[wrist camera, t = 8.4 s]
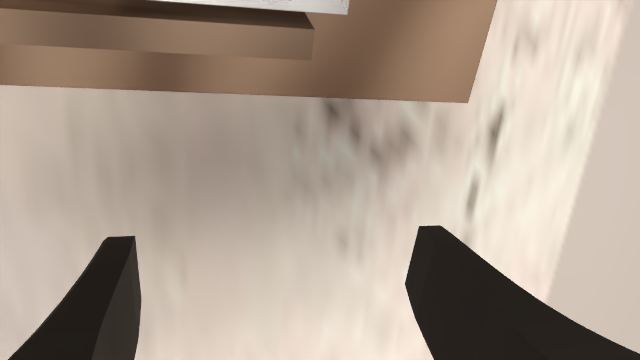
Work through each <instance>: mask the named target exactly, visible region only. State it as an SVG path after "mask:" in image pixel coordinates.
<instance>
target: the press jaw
mask: <svg viewBox="0 0 640 360" xmlns="http://www.w3.org/2000/svg"><path fill="white" fill-rule="evenodd" d="M157 1H170V2H183V3H197V4H210V5H223V6H237V7H250V8H263V9H277V10H290V11H303V12H317V13H330V14H343V15H347V13H348V6H349V0H157Z"/></svg>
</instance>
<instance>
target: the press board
mask: <svg viewBox="0 0 640 360" xmlns="http://www.w3.org/2000/svg"><path fill="white" fill-rule="evenodd" d="M496 3H497V0H349V6H348V13H347V15H343V14H330V13H317V12H303V11H290V10H277V9H263V8H250V7H237V6H223V5H210V4H197V3H183V2H170V1H157V0H0V85H19V86H45V87H70V88H96V89H122V90H147V91H173V92H199V93H224V94H250V95H276V96H301V97H327V98H352V99H378V100H404V101H429V102H455V103H468V101H469V97H470V94H471V90H472V87H473V83H474V80H475V76H476V73H477V69H478V66H479V62H480V59H481V56H482V52H483V49H484V45H485V42H486V38H487V35H488V31H489V28H490V24H491V21H492V17H493V14H494V10H495V7H496Z"/></svg>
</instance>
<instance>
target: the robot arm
mask: <svg viewBox="0 0 640 360" xmlns="http://www.w3.org/2000/svg"><path fill="white" fill-rule="evenodd" d="M405 286H406V289H407V293H408V296H409V300H410V303H411V307H412V310H413V313H414V316H415V319H416V321H417V323H418V326H419V328H420V330H421V332H422V334H423V337H424V339H425V341H426V343H427V346H428V348H429V350H430V352H431V354H432V356H433V358H434V360H640V354H639V353H637V352H634V351H632V350H630V349H627V348H625V347H623V346H621V345H619V344H617V343H615V342H613V341H611V340H609V339H607V338H604V337H603V336H601V335H599V334H597V333H595V332H593V331H591V330H589V329H587V328H585V327H584V326H582V325H580V324H578V323H576V322H574V321H573V320H571V319H569V318H567V317H566V316H564V315H563V314H561V313H559V312H557V311H556V310H554V309H553V308H551V307H549V306H548V305H546V304H545V303H543V302H541V301H540V300H538V299H537V298H535V297H534V296H532V295H531V294H530V293H528V292H527V291H525V290H524V289H522V288H521V287H520V286H518V285H517V284H515V283H514V282H513V281H511V280H510V279H509V278H507V277H506V276H504V275H503V274H502V273H501V272H499V271H498V270H497V269H495V268H494V267H493V266H491V265H490V264H489V263H488V262H486V261H485V260H484V259H483V258H481V257H480V256H479V255H478V254H476V253H475V252H474V251H473V250H471V249H470V248H469V247H468V246H466V245H465V244H464V243H463V242H461V241H460V240H459V239H458V238H456V237H455V236H454V235H453V234H451V233H450V232H449V231H447V230H446V229H445V228H443V227H442V226H419V229H418V233H417V237H416V241H415V245H414V249H413V253H412V257H411V261H410V265H409V269H408V273H407V277H406V282H405ZM140 311H141V291H140V281H139V271H138V261H137V251H136V242H135V236H123V237H107V238H106V239H105V240H104V241H103V242H102V244H101V246H100V247H99V249H98V251H97V252H96V254H95V255H94V257H93V258H92V260H91V261H90V263H89V264H88V266H87V267H86V269H85V270H84V271H83V273H82V274H81V276H80V277H79V278H78V280H77V281H76V282H75V284H74V285H73V286H72V288H71V289H70V290H69V292H68V293H67V294H66V296H65V297H64V298H63V300H62V301H61V302H60V303H59V304H58V306H57V307H56V308H55V309H54V310H53V312H52V313H51V314H50V315H49V316H48V317H47V319H46V320H45V321H44V322H43V323H42V324H41V326H40V327H39V328H38V329H37V330H36V331H35V332H34V333H33V334H32V335H31V337H30V338H29V339H28V340H27V341H26V342H25V343H24V344H23V345H22V346H21V347H20V348H19V349H18V350H17V351H16V352H15V353H14V354H13V355H12V356H11V357H10V358H9V359H8V360H134V358H135V353H136V348H137V343H138V337H139V325H140Z"/></svg>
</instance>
